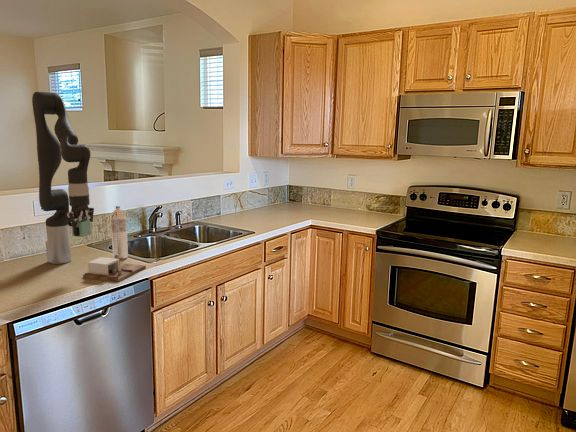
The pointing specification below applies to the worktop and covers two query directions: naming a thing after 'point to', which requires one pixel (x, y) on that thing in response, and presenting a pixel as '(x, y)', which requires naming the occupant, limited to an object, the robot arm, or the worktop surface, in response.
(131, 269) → the board
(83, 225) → the sleeve
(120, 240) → the water bottle
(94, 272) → the white rectangular block
